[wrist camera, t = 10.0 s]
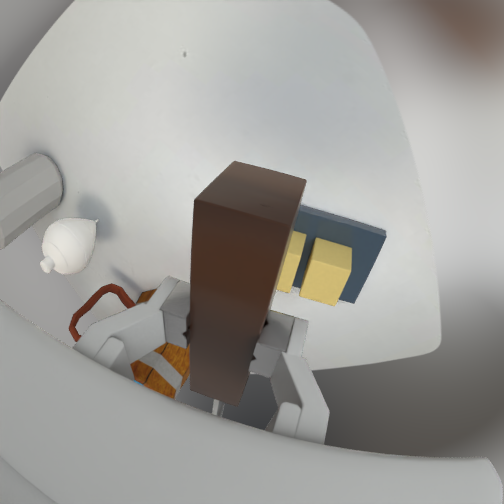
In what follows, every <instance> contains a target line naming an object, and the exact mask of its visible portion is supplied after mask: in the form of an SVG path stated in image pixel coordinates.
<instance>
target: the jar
mask: <svg viewBox="0 0 504 504" xmlns="http://www.w3.org/2000/svg"><path fill="white" fill-rule="evenodd" d="M62 192H63V183H62V176H61V174H60V172H59V170H58V168H57V165H56V164H55V163H54V162H53V161H52V160H51V159H50V158H49V157H47V156H45V155H41V154H37V153H34V154H32V155H30V156H28V157H26V158H25V159H23V160H21V161H19V162H18V163H16V164H14V165H12V166H11V167H9V168H7V169H5V170H4V171H2V172H1V173H0V250H1V249H3V248H5V247H6V246H7V245H8V244H10V243H11V242H12V241H13V240H14V239H16V238H17V237H18V236H19V235H20V234H22V233H23V232H24V231H25V230H27V229H28V228H29V227H30V226H32V225H33V224H34V223H35V222H37V221H38V220H39V219H41V218H42V217H43V216H45V215H46V214H47V213H49V212H50V211H51V210H53V209H54V208H55V207H57V206H58V205H59V203H60V199H61V196H62Z"/></svg>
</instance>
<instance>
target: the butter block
mask: <svg viewBox="0 0 504 504" xmlns="http://www.w3.org/2000/svg"><path fill="white" fill-rule="evenodd" d="M305 239H306V234H303V233H300V232H296V231H293V233H292V237H291V240H290V244H289V247H288V251H287V254H286V258H285V261H284V265H283V268H282V272H281V275H280V279H279V282H278V285H277V289H276V290H280V291H283V292H287V293H290V290H291V287H292V284H293V281H294V278H295V274H296V271H297V268H298V265H299V262H300V258H301V255H302V251H303V247H304V243H305Z"/></svg>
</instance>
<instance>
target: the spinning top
mask: <svg viewBox="0 0 504 504" xmlns="http://www.w3.org/2000/svg"><path fill="white" fill-rule="evenodd" d="M98 221H99V219H97V220H96V221H92V220H88V219H82V218H65V219H60V220H57V221H55V222H54V223H52V224H51V225H50V226H49V227H48V228H47V230H46V232H45V234H44V237H43V244H42V252H43V255H44V257H45V258H44V259H43V260H42V261H40V266H41V268H42V269H43V271H45V272H46V273H50V272H51V271H52V269H54V270H55V271H57V272H58V273H60V274H75V273H78V272H80V271H82V270H83V269H84V268H85V267H86V266H87V265H88V263H89V261H90V259H91V256H92V253H93V249H94V244H95V237H96V223H97V222H98Z"/></svg>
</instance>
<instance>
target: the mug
mask: <svg viewBox="0 0 504 504" xmlns="http://www.w3.org/2000/svg"><path fill="white" fill-rule="evenodd" d="M156 290H157V289H154V290H150V291H146V292H142V294H141V296H140V297H139V299H138V301H137V303H136V304H135V303H134V302H133V301H132V300H131V298H130V297H129V296H128V295H127V294H126V292H125V291H124V290H123V288H122V287H120V286H117V285H115V284H112V283H111V284H109V285H106V286H103V287H101V288H100V289H99V290H98V291H97V292H96V293H95V294H93V295H92V297H91V298H90V299H89V300H88V301H87V302H86V303H85V304H84V305H83V306H82V307H81V308H80V309H79V310H78V311H77V312H76V313H75V314H73V317H72V320H71V323H70V326H69V331H70V333H71V335H72V336H73V338H74V340H75V341H76V342H77V341H78V340H79V339H80V337H81V335H79V334H78V332H77V330H76V328H75V326H76V324H77V322H78V320H79V318H80V317H81V316H83V315H84V314H85V313H86V312H88V311H89V310H90V309H91V308H92V307H93V306H94V305H95V303H96V302H97V301H98V300H99V299H100V298H101V297H102V295H104V294H106V293H108V292H112V293H114V294H117V295H118V297H119V299H120V300H121V302H122V303H123V304H124V305H125V306H126V307H127V308H128V309H129V308H132V307H134V306H137V305H139V304H141V303H144V304H147V302H148V301H149V299H150V298H151V297H152V295H153V294H154V293H155V291H156ZM130 366H131V369H132V372H133V375H134V378H135V379H134V382H136V383H138V384H141V385H143V386H145V387H147V388H149V389H151V390H154V391H156V392H158V393H160V394H163V395H165V396H167V397H170V398H172V399H175V398H176V397H177V395H178V393H179V391H180V389H181V387H182V386H183V384H184V383H185V381H186V380H187V378H188V376H189V374H190V357H189V345H188V347H187V349H185V348H182V347H179V346H176V345H174V344H171V343H168V342H166V343H165V344H163V345H161V346H160V347H158V348H156V349H155V350H153V351H151V352H150V353H148V354H146V355H145V356H143V357H141V358H140V359H138V360H136V361H134V362H133V363H131V364H130Z"/></svg>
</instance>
